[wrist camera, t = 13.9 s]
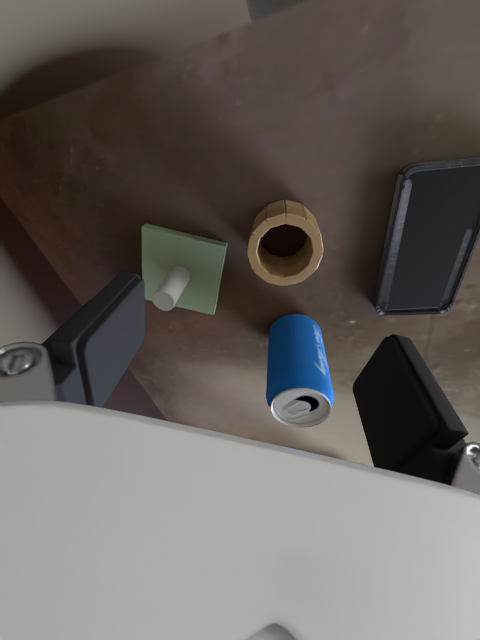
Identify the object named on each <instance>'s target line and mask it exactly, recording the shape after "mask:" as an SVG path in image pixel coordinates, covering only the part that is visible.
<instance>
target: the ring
mask: <svg viewBox="0 0 480 640" xmlns="http://www.w3.org/2000/svg"><path fill="white" fill-rule="evenodd" d="M283 224H289V225H293V226H297V227H300V228H301V229H302V230H303V231H304V232H305V233H306V234H307V235H308V236H307V238H306V241H305V244H304V246H303V247H302V248H301V249H300V250H299V251H298V252H297V253H295V254H294V255H290V256H286V257H280V256H275V255H271V254H270V253H269V252H268V251H267V250H266V249H265V248H264V247H263V245H262V242H261V237H262V236H263V235H264V234H265V233H266V232H267V231H268V230H269V229H270V228H273V227H276V226H280V225H283ZM323 250H324V249H323V243H322V237H321V233H320V230H319V228H318V225H317V223H316V220H315V218H314V216H313V215H312V213H311V212H310V211H309V210H308V209H307V208H306V207H305V206H304V205H302V204H301V203H298V202H293V201H289V200H285V202H284V200H281V201H278V202H275V203H271V204H268V207H267V206H266V207H265V208H264V209H263V210H262V211H261V212H260V213H259V214H258V215H257V216H256V218H255V219H254V223H253V227H252V231H251V235H250V239H249V243H248V248H247V256H248V259H249V262H250V265H251V269H253V271H254V272H255V273H256V274H257V275H258V276H259V277H260V278H262V279H263V280H264V281H266V282H267V283H271V284H276V285H280V286H283V285H284V286H286V285H291V284H295V283H299V282H301V281H303V280H305V279H306V278H307V277H308V276H309V275H311V274H312V273H313V272H314V271H315V270H316V269H317V267H318V265H319V263H320V260H321V258H322V255H323Z"/></svg>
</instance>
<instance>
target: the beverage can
mask: <svg viewBox="0 0 480 640" xmlns="http://www.w3.org/2000/svg"><path fill="white" fill-rule="evenodd" d="M266 399H267V403H268V405H269V407H270V409H271V413H272V415H273V416H274V418H275V419H276V420H278V421H279V422H281V423H283V424H285V425H288V426H292V427H311V426H315V425H318V424H320V423H322V422H323V421H325V420H326V419H327V418H328V417H329V415H330V413H331V407H332V404H333V401H334V393H333V389H332V384H331V379H330V374H329V369H328V364H327V359H326V355H325V350H324V345H323V340H322V335H321V331H320V328H319V326H318V324H317V323H316V322H315V321H314V320H313V319H311V318H309V317H307V316H304V315H298V314H293V315H287V316H284V317H282V318H280V319H278V320H277V321H276V322H275V323H274V324H273V325H272V326H271V328H270V331H269V344H268V368H267V391H266Z"/></svg>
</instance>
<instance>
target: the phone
mask: <svg viewBox="0 0 480 640" xmlns="http://www.w3.org/2000/svg"><path fill="white" fill-rule="evenodd" d="M479 236H480V157H476V158H466V159H456V160H446V161H436V162H426V163H416V164H411V165H409V166H407V167H405V168H404V169H403V170H402V171H401V172H400V174H399V175H398V178H397V182H396V187H395V193H394V198H393V203H392V208H391V213H390V218H389V223H388V228H387V233H386V239H385V244H384V249H383V254H382V259H381V264H380V269H379V274H378V279H377V285H376V290H375V295H374V300H373V305H374V307H375V309H376V311H377V312H378V313H379V314H381V315H419V314H442V313H444V312H446V311H448V310H449V309H450V308H451V307H452V305H453V303H454V300H455V298H456V295H457V293H458V290H459V287H460V285H461V282H462V280H463V277H464V275H465V272H466V269H467V267H468V264H469V262H470V259H471V257H472V254H473V251H474V249H475V246H476V244H477V241H478V239H479Z"/></svg>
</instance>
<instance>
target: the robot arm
mask: <svg viewBox="0 0 480 640" xmlns="http://www.w3.org/2000/svg"><path fill="white" fill-rule="evenodd" d="M144 336H145V283H144V280H143V279H140V275H139V274H135V273H131V272H127V271H122V272H121V273H119V274H118V275H117V276H116V277H115V278H114V279H113V280H112V281H111V282H110V283H109V284H108V285H107V286H106V287H104V288H103V289H102V290H101V291H100V292H99V293H98V294H97V295H96V296H95V297H94V298H93V299H92V300H89V301H88V302H87V303H86V304H84V305H83V306H82V307H81V308H80V309H79V310H78V311H77V312H76V313H75V314H74V315H73V316H72V317H70V318H69V319H68V320H67V321H66V322H65V323H64V324H63V325H62V326H61V327H60V328H59V329H57V331H56V332H54V333H53V334H52V335H51V336H50V337H49V338H48V339H47V340H46V341H45V342H43V343H42V344H37V343H34V342H17V343H12V344H8V345H5V346H3V347H0V640H480V443H476V442H470V443H467V444H466V443H465V441H464V439H463V438H464V437H465V436H466V435H468V434H469V433H468V432H467V430H466V428H465V427H464V425H463V423H462V422H461V420H460V419H459V417H458V415H457V414H456V412H455V410H454V409H453V407H452V406H451V404H450V402H449V401H448V399H447V398H446V396H445V394H444V393H443V391H442V389H441V388H440V386H439V385H438V383H437V381H436V380H435V378H434V376H433V375H432V373H431V372H430V370H429V368H428V367H427V365H426V364H425V362H424V360H423V359H422V357H421V355H420V354H419V352H418V351H417V349H416V347H415V346H414V344H413V342H412V341H411V340H410V338H407V337H403V336H399V335H395V334H392V335H390V336H389V337H385V338H384V339H383V341H382V342H381V344H380V345H379V347H378V348H377V350H376V351H375V352H374V354H373V355H372V357H371V358H370V360H369V361H368V363H367V364H366V366H365V367H364V369H363V370H362V372H361V373H360V375H359V376H358V378H357V379H356V381H355V382H354V385H353V393H354V396H355V400H356V404H357V407H358V411H359V414H360V418H361V421H362V425H363V428H364V432H365V436H366V439H367V443H368V446H369V450H370V453H371V457H372V460H373V464H374V467H372V466H367V465H363V464H358V463H354V462H350V461H345V460H341V459H336V458H332V457H328V456H323V455H319V454H314V453H310V452H305V451H301V450H296V449H292V448H287V447H283V446H278V445H274V444H269V443H265V442H260V441H256V440H251V439H247V438H242V437H238V436H233V435H229V434H224V433H220V432H215V431H210V430H206V429H201V428H196V427H192V426H187V425H183V424H178V423H173V422H169V421H164V420H159V419H155V418H150V417H145V416H140V415H135V414H130V413H125V412H120V411H115V410H110V409H105V408H102V407H103V405H104V403H105V402H106V400H107V399H108V397H109V396H110V394H111V392H112V391H113V389H114V388H115V386H116V384H117V383H118V381H119V380H120V378H121V376H122V375H123V373H124V372H125V370H126V368H127V367H128V365H129V364H130V362H131V360H132V359H133V357H134V356H135V354H136V352H137V351H138V349H139V348H140V346H141V344H142V343H143V340H144Z"/></svg>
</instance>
